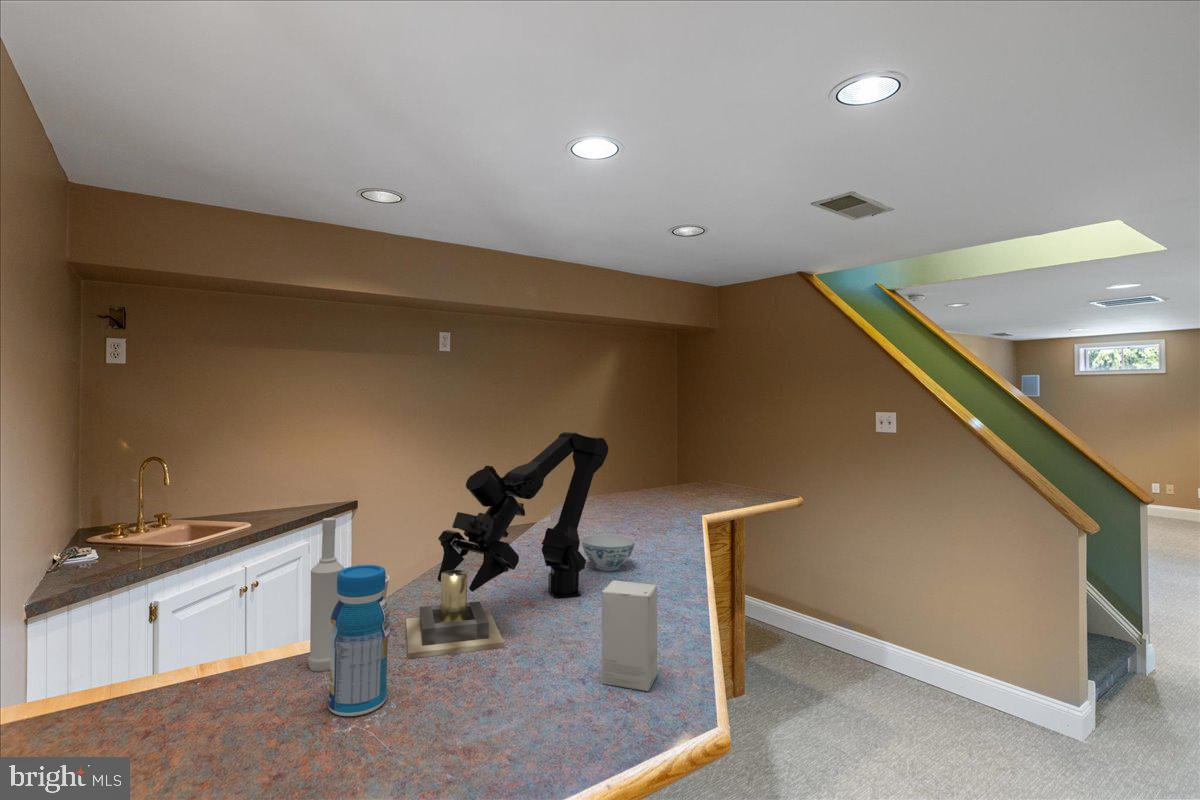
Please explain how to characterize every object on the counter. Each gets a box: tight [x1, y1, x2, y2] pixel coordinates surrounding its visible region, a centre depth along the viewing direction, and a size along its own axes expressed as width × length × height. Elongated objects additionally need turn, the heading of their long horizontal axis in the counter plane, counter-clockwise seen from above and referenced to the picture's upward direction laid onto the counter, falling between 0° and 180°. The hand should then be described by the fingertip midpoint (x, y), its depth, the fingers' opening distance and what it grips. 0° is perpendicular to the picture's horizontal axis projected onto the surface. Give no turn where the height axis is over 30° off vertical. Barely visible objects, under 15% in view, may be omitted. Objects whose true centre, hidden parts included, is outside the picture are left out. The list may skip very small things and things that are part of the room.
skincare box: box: [601, 580, 658, 692], centre depth 96 cm, size 8×7×16 cm
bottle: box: [307, 517, 345, 672], centre depth 99 cm, size 5×5×25 cm
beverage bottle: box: [327, 564, 391, 717], centre depth 87 cm, size 8×8×20 cm
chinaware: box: [581, 533, 636, 572], centre depth 162 cm, size 15×15×8 cm
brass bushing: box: [439, 569, 469, 623], centre depth 113 cm, size 5×5×11 cm
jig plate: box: [405, 601, 505, 660], centre depth 113 cm, size 17×17×4 cm
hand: (454, 585), depth 113 cm, fingers open, 9 cm apart
